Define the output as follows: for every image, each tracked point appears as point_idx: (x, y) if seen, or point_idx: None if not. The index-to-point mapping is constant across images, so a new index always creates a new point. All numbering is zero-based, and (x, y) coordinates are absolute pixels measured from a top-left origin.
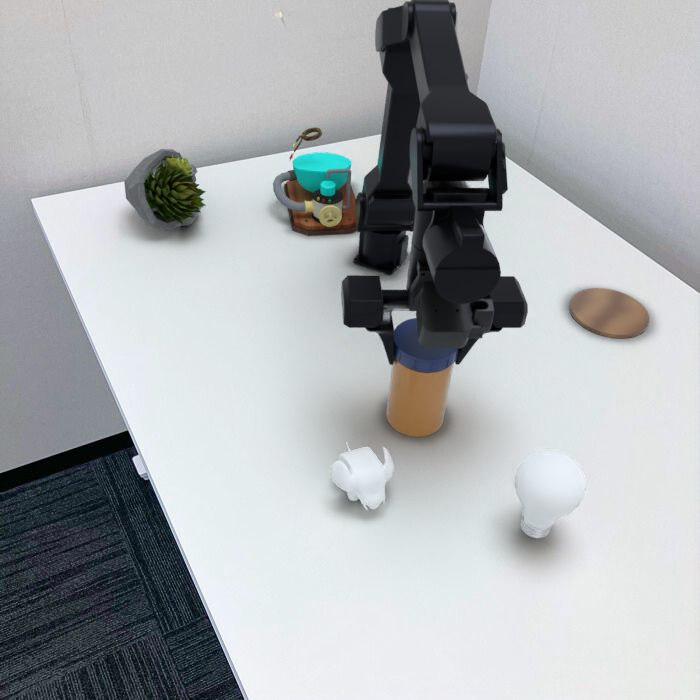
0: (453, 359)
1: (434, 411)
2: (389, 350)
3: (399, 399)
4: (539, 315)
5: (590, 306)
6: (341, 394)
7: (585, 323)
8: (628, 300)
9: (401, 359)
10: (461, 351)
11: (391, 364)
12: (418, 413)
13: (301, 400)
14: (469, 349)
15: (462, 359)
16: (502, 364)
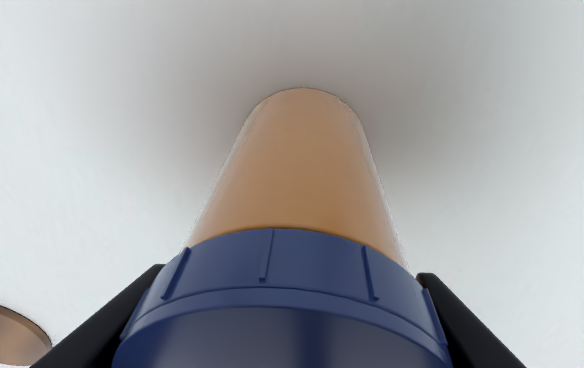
0: (150, 292)
1: (260, 125)
2: (497, 360)
3: (366, 158)
4: None
5: (16, 343)
6: (445, 208)
7: (14, 321)
8: None
9: (426, 303)
10: (110, 331)
11: (427, 274)
12: (308, 117)
13: (538, 196)
14: (62, 343)
15: (130, 285)
16: (132, 260)
